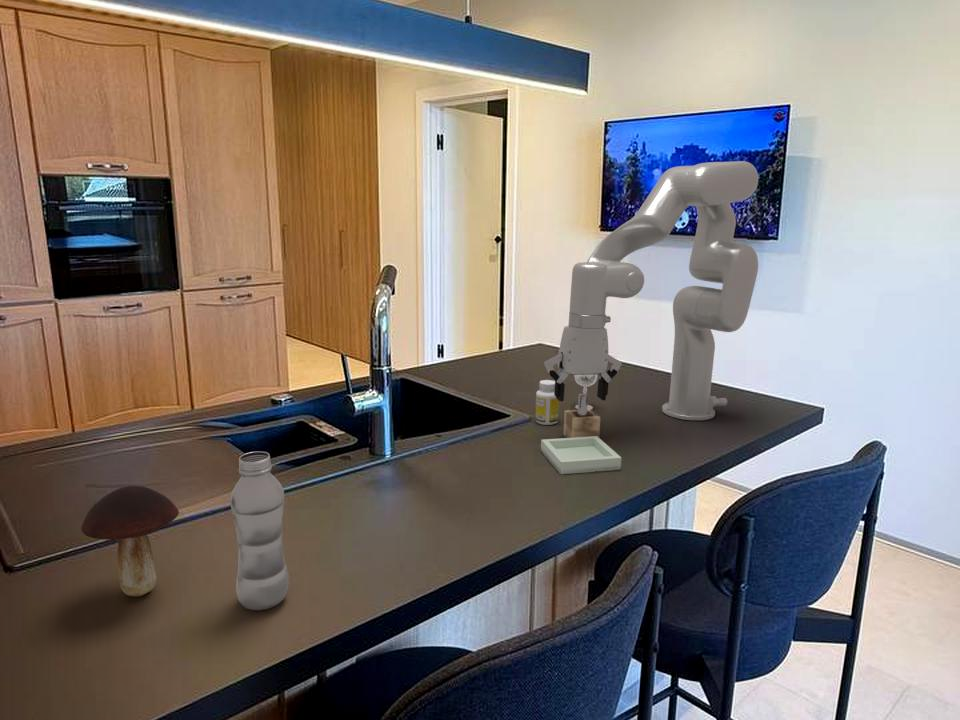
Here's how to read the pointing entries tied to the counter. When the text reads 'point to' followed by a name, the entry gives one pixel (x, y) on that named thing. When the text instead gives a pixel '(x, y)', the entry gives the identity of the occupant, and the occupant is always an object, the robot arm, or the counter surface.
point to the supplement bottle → (546, 403)
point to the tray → (580, 455)
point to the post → (582, 405)
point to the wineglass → (585, 383)
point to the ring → (581, 424)
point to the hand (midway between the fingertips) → (580, 399)
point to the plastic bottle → (259, 533)
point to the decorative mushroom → (131, 531)
